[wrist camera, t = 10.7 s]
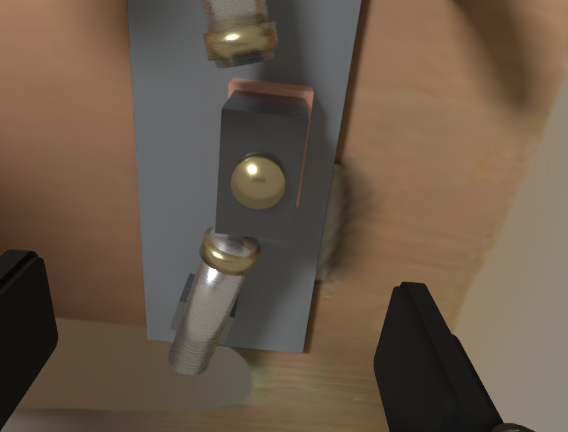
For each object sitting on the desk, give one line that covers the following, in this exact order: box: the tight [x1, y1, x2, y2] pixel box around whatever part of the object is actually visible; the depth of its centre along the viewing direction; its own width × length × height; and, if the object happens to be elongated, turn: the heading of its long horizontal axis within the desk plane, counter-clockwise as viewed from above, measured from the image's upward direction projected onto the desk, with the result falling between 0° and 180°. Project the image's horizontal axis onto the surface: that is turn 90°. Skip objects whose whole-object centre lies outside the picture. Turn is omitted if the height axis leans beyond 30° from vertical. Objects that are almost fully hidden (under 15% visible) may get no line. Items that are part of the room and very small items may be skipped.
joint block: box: [215, 90, 309, 242], centre depth 22 cm, size 4×6×6 cm, turn 173°
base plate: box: [127, 0, 361, 353], centre depth 26 cm, size 13×36×3 cm, turn 174°
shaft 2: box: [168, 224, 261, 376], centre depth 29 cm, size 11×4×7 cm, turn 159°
